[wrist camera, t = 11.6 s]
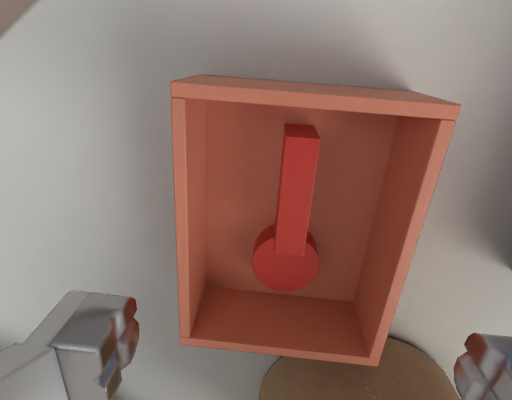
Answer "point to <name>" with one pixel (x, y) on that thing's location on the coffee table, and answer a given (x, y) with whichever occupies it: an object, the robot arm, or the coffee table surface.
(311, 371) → the vase
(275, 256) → the red spoon
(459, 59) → the coffee table surface
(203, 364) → the coffee table surface
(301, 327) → the red bin
